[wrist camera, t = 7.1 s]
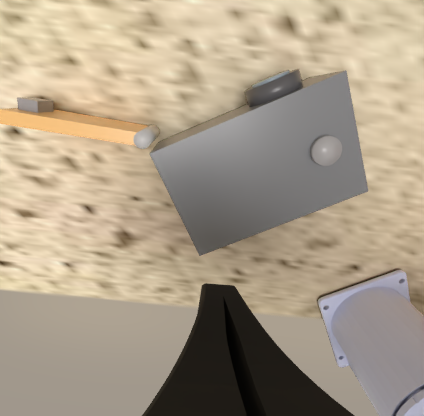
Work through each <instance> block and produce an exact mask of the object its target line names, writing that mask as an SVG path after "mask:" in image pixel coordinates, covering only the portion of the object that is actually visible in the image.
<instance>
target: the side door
mask: <svg viewBox="0 0 424 416" xmlns="http://www.w3.org/2000/svg"><path fill="white" fill-rule="evenodd" d="M17 101H18V108H11V109H0V124H6V125H12V126H18V127H24V128H31V129H37V130H43V131H49V132H55V133H61V134H68V135H74V136H80V137H86V138H92V139H98V140H105V141H111V142H117V143H123V144H129V145H135V146H137V147H138V148H140V149H145V148H147V147H148V146H149V145H150V144H151V143H152V142H153V141H154V140H155V139H156V138H157V137H158V135H159V128H158V127H157V126H155V125H149V126H148V125H142V124H136V123H130V122H124V121H118V120H113V119H107V118H101V117H95V116H89V115H84V114H78V113H72V112H66V111H60V110H55V109H54V107H53V101H51V100H45V99H39V98H17Z"/></svg>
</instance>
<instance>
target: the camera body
mask: <svg viewBox="0 0 424 416" xmlns="http://www.w3.org/2000/svg"><path fill="white" fill-rule="evenodd" d="M244 93H245V96H246V99H247V102H248V104H246V105H244V106H242V107H239V108H237V109H235V110H232V111H230V112H228V113H225V114H223V115H221V116H218V117H216V118H214V119H211V120H209V121H206V122H204V123H202V124H199V125H197V126H195V127H192V128H190V129H188V130H185V131H183V132H181V133H178V134H176V135H174V136H171V137H169V138H167V139H164V140H162V141H160V142H158V144H157V145H156V146H155V147H154V149H153V150H152V151H151V153H150V156H151V158H152V160H153V162H154V164H155V166H156V168H157V170H158V172H159V174H160V176H161V178H162V180H163V182H164V184H165V186H166V188H167V190H168V192H169V194H170V196H171V198H172V200H173V203H174V205H175V207H176V209H177V211H178V213H179V215H180V217H181V219H182V221H183V223H184V225H185V227H186V229H187V231H188V233H189V235H190V237H191V239H192V241H193V243H194V245H195V247H196V249H197V251H198V253H199V255H200V256H201V255H203V254H206V253H208V252H211V251H214V250H216V249H219V248H222V247H224V246H227V245H229V244H232V243H235V242H237V241H240V240H242V239H245V238H248V237H250V236H253V235H255V234H258V233H261V232H263V231H266V230H268V229H271V228H274V227H276V226H279V225H281V224H284V223H287V222H289V221H292V220H294V219H297V218H300V217H302V216H305V215H308V214H310V213H313V212H315V211H318V210H321V209H323V208H326V207H328V206H331V205H334V204H336V203H339V202H341V201H344V200H347V199H349V198H352V197H354V196H357V195H360V194H362V193H365V192H367V191H368V187H367V182H366V176H365V171H364V165H363V160H362V154H361V149H360V143H359V138H358V132H357V127H356V121H355V116H354V110H353V105H352V99H351V94H350V88H349V83H348V77H347V72H346V71H341V72H335V73H330V74H325V75H319V76H314V77H310V78H307V79H305V80H303V81H302V80H301V76H300V72H299V69H296V70H293V71H290V72H289V70H286V71H284V72H281V73H279V74H276V75H274V76H271V77H269V78H267V79H264V80H262V81H260V82H258V83H255V84H253V85H252V88H250V89H248V90H246V91H244Z"/></svg>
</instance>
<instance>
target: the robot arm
mask: <svg viewBox="0 0 424 416" xmlns="http://www.w3.org/2000/svg"><path fill="white" fill-rule="evenodd" d="M400 279H401V280H400ZM318 305H319V308H320V311H321V314H322V317H323V321H324V324H325V327H326V330H327V333H328V337H329V340H330V343H331V346H332V349H333V352H334V356H335V359H336V362H337V364H338V366H339V367H346V366H348V365H350V367H351V369H352V371H353V372H354V374H355V375H356V377H357V379H358V381H359V382H360V384H361V386H362V388H363V389H364V391H365V393H366V394H367V396H368V398H369V399H370V401H371V403H372V405H373V406H374V408H375V409H376V411H377V413H378V414H379V416H424V315H423V314H422V313H421V312H420V311H418V310H417V309H416V308H415V307H414V306H413V305H412V304H411V303H410V296H409V289H408V282H407V275H406V273H405V272H404V271H403V270H397V271H394V272H391V273H388V274H385V275H383V276H380V277H377V278H374V279H371V280H369V281H366V282H363V283H360V284H357V285H355V286H352V287H349V288H346V289H343V290H341V291H338V292H335V293H332V294H329V295H326V296H324V297H321V298H320V299H319V300H318ZM324 306H325V307H324ZM142 416H354V415H353V414H351V413H350V412H349V411H348V410H346V409H345V408H344V407H343V406H341V405H340V404H339V403H338V402H336V401H335V400H334V399H332V398H331V397H330V396H329V395H328V394H326V393H325V392H324V391H323V390H322V389H321V388H320V387H318V386H317V385H316V384H315V383H314V382H313V381H312V380H311V379H310V378H309V377H308V376H306V375H305V374H304V373H303V372H302V371H301V370H300V369H299V368H298V367H297V366H296V365H295V364H294V363H293V362H292V361H291V360H290V359H289V358H288V357H287V356H286V355H285V354H284V352H283V351H282V350H281V349H280V348H279V347H278V346H277V345H276V343H275V342H274V341H273V340H272V338H271V337H270V336H269V335H268V334H267V332H266V331H265V330H264V328H263V327H262V326H261V324H260V323H259V322H258V320H257V319H256V318H255V316H254V315H253V313H252V312H251V310H250V309H249V308H248V306H247V305H246V303H245V302H244V300H243V298H242V297H241V295H240V294H239V292H238V291H237V289H236V288H235V286H231V285H218V284H204V285H202V289H201V295H200V302H199V308H198V314H197V317H196V320H195V323H194V325H193V328H192V330H191V333H190V335H189V338H188V340H187V342H186V344H185V346H184V349H183V351H182V352H181V354H180V356H179V358H178V360H177V362H176V364H175V366H174V367H173V369H172V371H171V373H170V375H169V376H168V378H167V379H166V381H165V383H164V384H163V386H162V387H161V389H160V391H159V392H158V393H157V395H156V396H155V398H154V399H153V401H152V403H151V404H150V406H149V407H148V408H147V410H146V411H145V412H144V414H143V415H142Z"/></svg>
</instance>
